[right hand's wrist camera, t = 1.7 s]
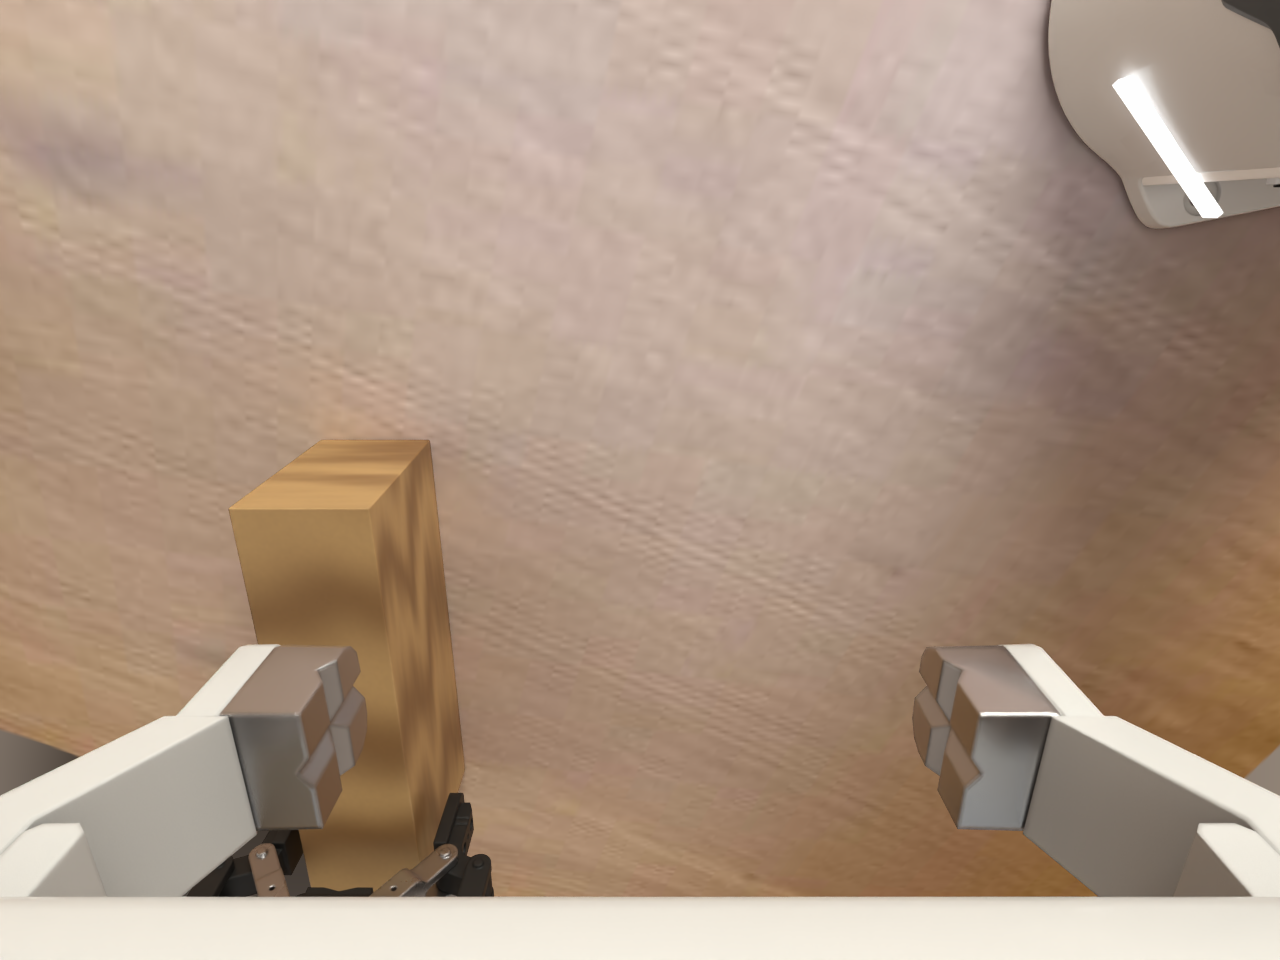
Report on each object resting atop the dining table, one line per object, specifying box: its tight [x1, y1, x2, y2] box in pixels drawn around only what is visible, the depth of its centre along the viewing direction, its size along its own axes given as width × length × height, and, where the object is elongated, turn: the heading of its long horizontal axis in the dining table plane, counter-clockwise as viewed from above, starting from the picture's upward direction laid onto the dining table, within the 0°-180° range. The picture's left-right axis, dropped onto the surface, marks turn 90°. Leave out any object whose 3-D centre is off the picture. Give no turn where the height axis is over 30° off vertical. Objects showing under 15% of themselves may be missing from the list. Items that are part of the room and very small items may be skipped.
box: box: [229, 440, 465, 892], centre depth 39 cm, size 23×6×10 cm, turn 0°
